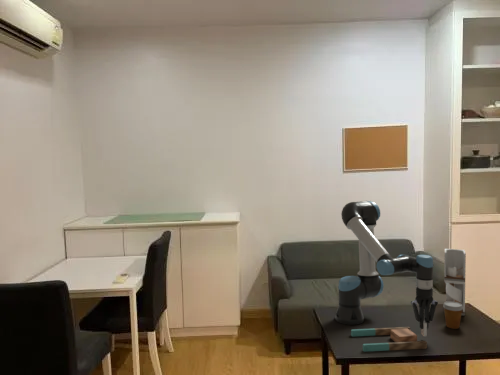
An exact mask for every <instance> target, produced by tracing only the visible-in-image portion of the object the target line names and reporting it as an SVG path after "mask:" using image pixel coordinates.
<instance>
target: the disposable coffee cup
mask: <svg viewBox="0 0 500 375" xmlns="http://www.w3.org/2000/svg"><path fill="white" fill-rule="evenodd" d="M442 306H443V313H444V312H445V313H444V317H445V325H446V327H447V328H449V329H453V330H454V329H455V330H456V329H460V326H461V319H462V315H461V313H462V309H463V307H462V304H460V303H458V302H451V301H449V302H446V301H444V302H443V305H442Z"/></svg>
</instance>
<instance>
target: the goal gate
mask: <svg viewBox="0 0 500 375" xmlns="http://www.w3.org/2000/svg"><path fill="white" fill-rule="evenodd" d="M375 332H376V330H375V329H374V328H373V327H372V328H357V329H356V328H354V329H351V330H350V337H353V338H354V337H369V336H370V337H373V336H376V335H375ZM389 343H390V342H376V343H373V342H371V343H362V351H363V353H365V352H380V351H386V352H387V351H390V350H389Z"/></svg>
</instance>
